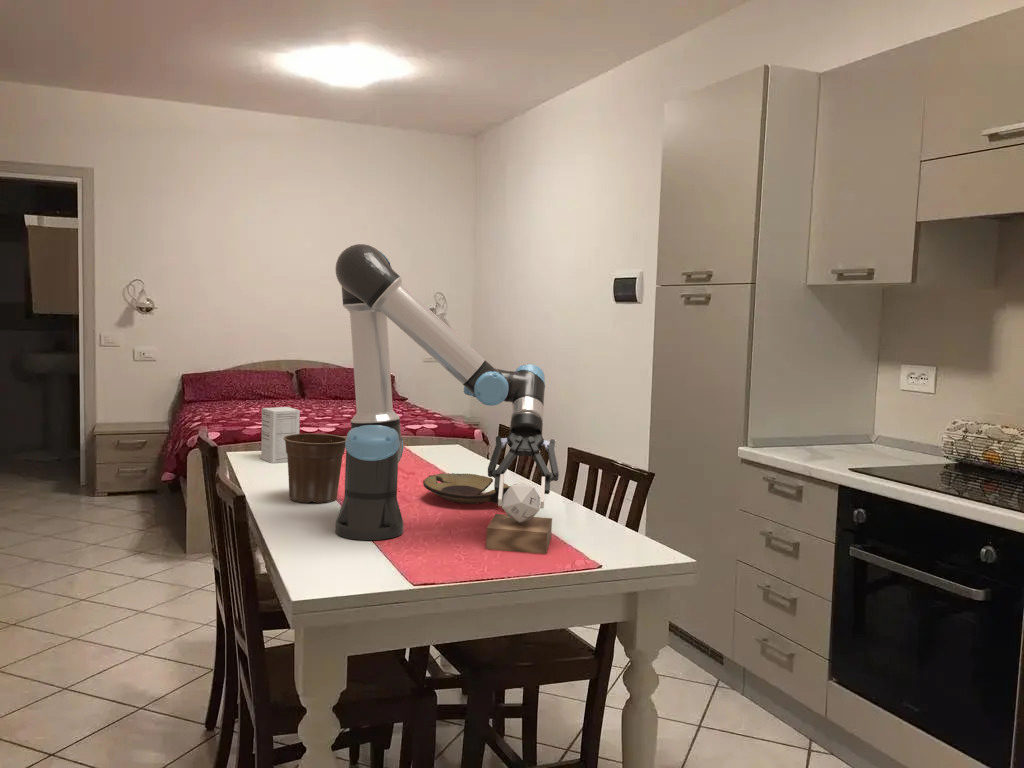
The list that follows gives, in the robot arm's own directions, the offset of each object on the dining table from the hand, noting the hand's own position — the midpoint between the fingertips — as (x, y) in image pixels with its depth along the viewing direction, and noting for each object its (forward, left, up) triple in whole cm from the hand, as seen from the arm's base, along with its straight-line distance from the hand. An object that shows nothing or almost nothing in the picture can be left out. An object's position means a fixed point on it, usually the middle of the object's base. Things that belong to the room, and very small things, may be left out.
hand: (520, 503), depth 178 cm
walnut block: (0, +3, -10) cm, 11 cm away
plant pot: (-55, +34, -10) cm, 66 cm away
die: (0, +3, -5) cm, 6 cm away
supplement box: (-81, +85, -10) cm, 118 cm away
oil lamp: (-15, +40, -10) cm, 44 cm away
